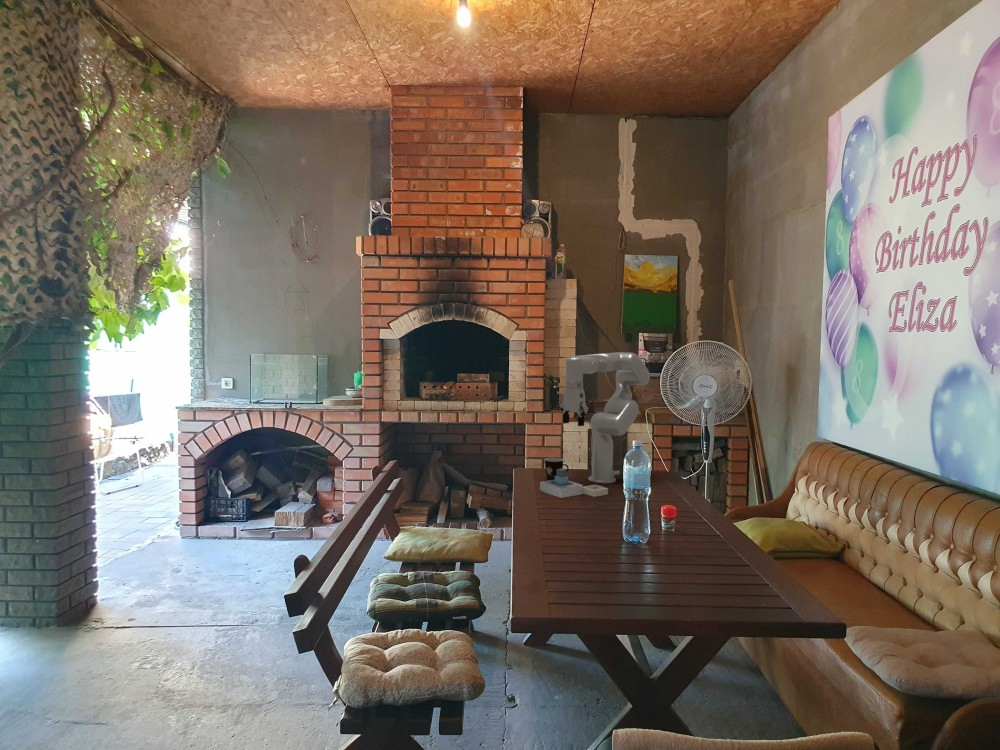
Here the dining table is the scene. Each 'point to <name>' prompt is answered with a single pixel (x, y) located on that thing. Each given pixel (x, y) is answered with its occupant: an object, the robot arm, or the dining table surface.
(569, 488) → the port panel
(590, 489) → the cream square frame
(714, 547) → the dining table surface
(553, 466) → the coffee mug
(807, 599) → the dining table surface
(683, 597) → the dining table surface
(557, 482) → the plug
